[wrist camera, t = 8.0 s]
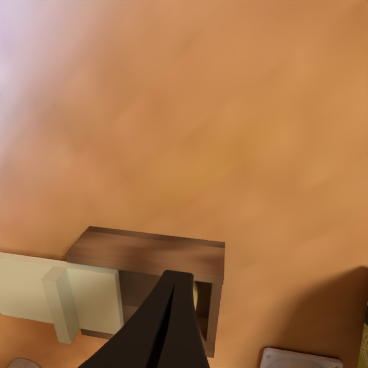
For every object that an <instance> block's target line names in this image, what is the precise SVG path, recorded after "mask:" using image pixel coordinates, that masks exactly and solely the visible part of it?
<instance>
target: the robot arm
mask: <svg viewBox="0 0 368 368" xmlns="http://www.w3.org/2000/svg"><path fill="white" fill-rule="evenodd" d="M193 280H194V275H193V274H192V273H188V272H181V271H173V270H165V271H164V272H163V274H162V276H161V277H160V279H159V281H158V282H157V284H156V285H155V287H154V288H153V290H152V291H151V292H150V294H149V295H148V296H147V298H146V299H145V300H144V302H143V303H142V304H141V306H140V307H139V308H138V309H137V310H136V312H135V313H134V314H133V315H132V316H131V318H130V319H129V320H128V321H127V322H126V323H125V324H124V325H123V326H122V328H121V329H120V330H119V331H118V332H117V333H116V334H115V335H114V336H113V337H112V338H111V339H110V340H109V341H108V342H107V343H105V344H104V345H103V346H102V347H101V348H100V349H99V350H98V351H97V352H96V353H95V354H93V355H92V356H91V357H90V358H89V359H88V360H86V361H85V362H84V363H83V364H81V365H80V366H79V367H78V368H210V367H209V363H208V360H207V357H206V354H205V350H204V347H203V343H202V340H201V336H200V331H199V327H198V322H197V317H196V311H195V305H194V297H193ZM342 367H343V363H342V361H341V360H339V359H333V358H327V357H321V356H316V355H310V354H304V353H298V352H292V351H286V350H280V349H274V348H265V349H264V351H263V355H262V359H261V363H260V367H259V368H342Z"/></svg>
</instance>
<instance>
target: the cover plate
mask: <svg viewBox="0 0 368 368" xmlns="http://www.w3.org/2000/svg"><path fill="white" fill-rule="evenodd" d="M0 312H1V315H6V316H12V317H18V318H23V319H29V320H35V321H40V322H46V323H52V324H54V327H55V331H56V335H57V338H58V342H60V343H65V344H71V343H72V342H73V340H74V338H75V336H76V334H77V333H78V331H79V329H86V330H92V331H98V332H103V333H109V334H116V333H117V332H118V331H119V330H120V329H121V328H122V326H123V325H124V321H123V311H122V302H121V292H120V283H119V273H118V270H116V269H109V268H102V267H95V266H88V265H81V264H74V263H67V262H66V261H59V260H52V259H45V258H38V257H31V256H24V255H17V254H10V253H2V252H0Z"/></svg>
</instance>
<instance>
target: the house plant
mask: <svg viewBox="0 0 368 368" xmlns="http://www.w3.org/2000/svg"><path fill="white" fill-rule="evenodd" d="M7 368H40V367H39V366H38V365H37V364H36V363H34V362H32V361H30V360H27V359H22V358H18V359H15V360H13V361H12V362H11V363H10V365H9V366H8V367H7Z"/></svg>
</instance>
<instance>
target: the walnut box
mask: <svg viewBox="0 0 368 368" xmlns="http://www.w3.org/2000/svg"><path fill="white" fill-rule="evenodd" d="M224 254H225V242H216V241H208V240H200V239H191V238H183V237H175V236H167V235H158V234H150V233H142V232H133V231H125V230H117V229H109V228H100V227H92V226H89V227H88V228H87V230H86V231H85V232H84V233H83V234H82V236H81V237H80V238H79V239H78V240H77V241H76V243H75V244H74V245H73V246H72V247H71V249H70V250H69V251H68V252H67V253H66V254H65V257H66V262H67V263H74V264H81V265H88V266H95V267H102V268H109V269H116V270H118V273H119V283H120V292H121V302H122V311H123V321H124V324H125V323H126V322H127V321H128V320H129V319H130V318H131V316H132V315H133V314H134V313H135V312H136V310H137V309H138V308H139V307H140V306H141V304H142V303H143V302H144V300H145V299H146V298H147V296H148V295H149V294H150V292H151V291H152V290H153V288H154V287H155V285H156V284H157V282H158V281H159V279H160V277H161V276H162V274H163V272H164V271H165V270H173V271H181V272H188V273H192V274H193V275H194V280H193V297H194V305H195V311H196V317H197V322H198V327H199V331H200V336H201V340H202V343H203V347H204V350H205V354H206V357H211V358H214V350H215V339H216V331H217V322H218V314H219V306H220V298H221V290H222V285H223V280H224ZM81 333H82V335H88V336H93V337H99V338H104V339H111V338H112V337H113V336H114V335H115V334H109V333H103V332H98V331H92V330H86V329H81Z"/></svg>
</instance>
